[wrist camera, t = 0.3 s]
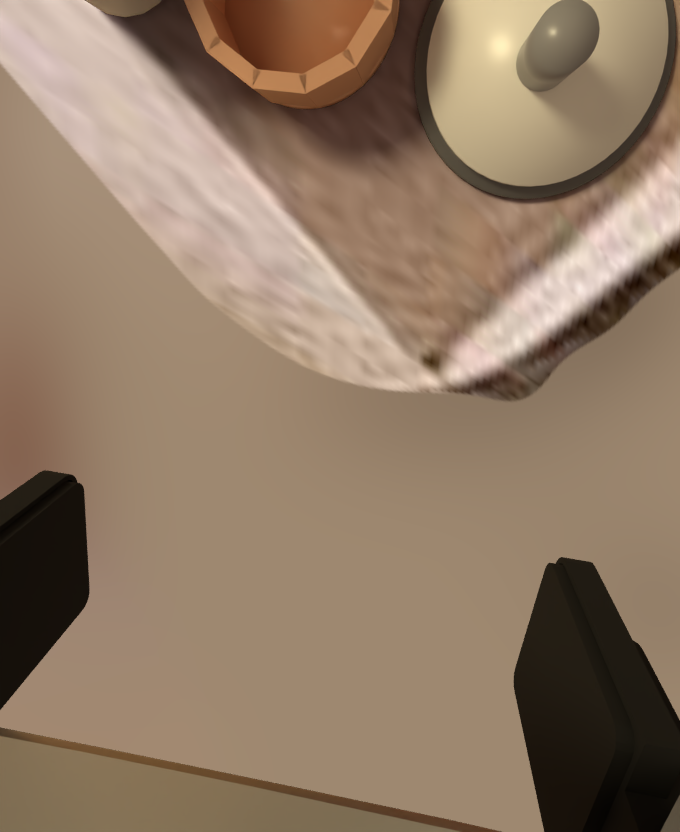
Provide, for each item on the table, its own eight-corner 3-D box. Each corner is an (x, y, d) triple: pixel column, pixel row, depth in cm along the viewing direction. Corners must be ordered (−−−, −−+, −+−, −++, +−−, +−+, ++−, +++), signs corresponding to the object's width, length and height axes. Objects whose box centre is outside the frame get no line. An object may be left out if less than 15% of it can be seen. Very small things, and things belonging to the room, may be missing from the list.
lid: (447, -86, 30) (455, -149, 25) (695, -67, 29) (759, -128, 24) (410, 174, 35) (410, 168, 30) (623, 198, 34) (663, 196, 29)
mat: (436, -99, 30) (436, -103, 30) (710, -79, 29) (714, -82, 29) (398, 185, 36) (397, 184, 35) (629, 211, 34) (631, 211, 34)
